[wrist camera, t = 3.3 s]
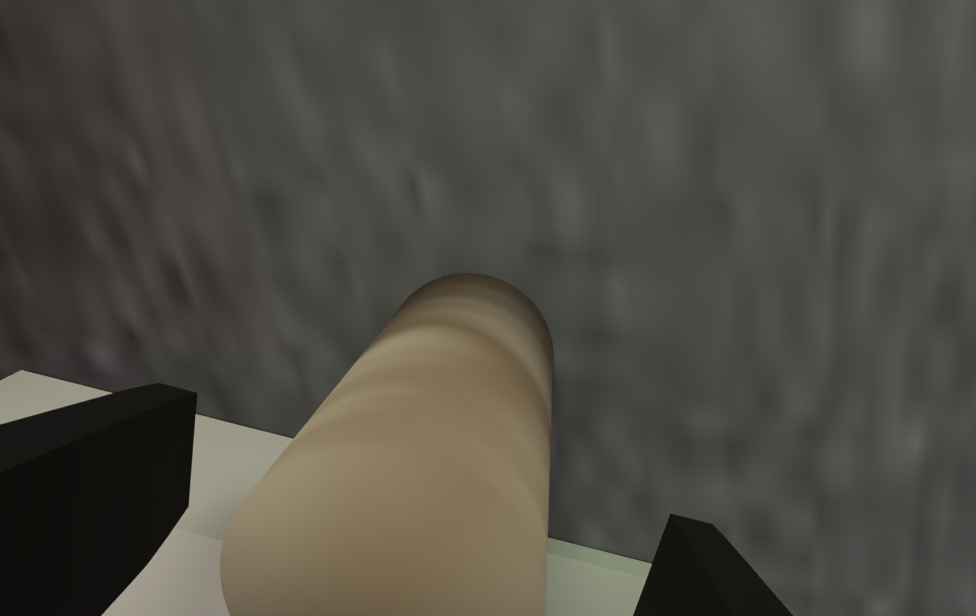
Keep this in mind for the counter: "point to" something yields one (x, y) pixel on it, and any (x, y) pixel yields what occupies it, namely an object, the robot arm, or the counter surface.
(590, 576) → the plate
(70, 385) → the block
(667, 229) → the counter surface
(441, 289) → the beige cylinder
